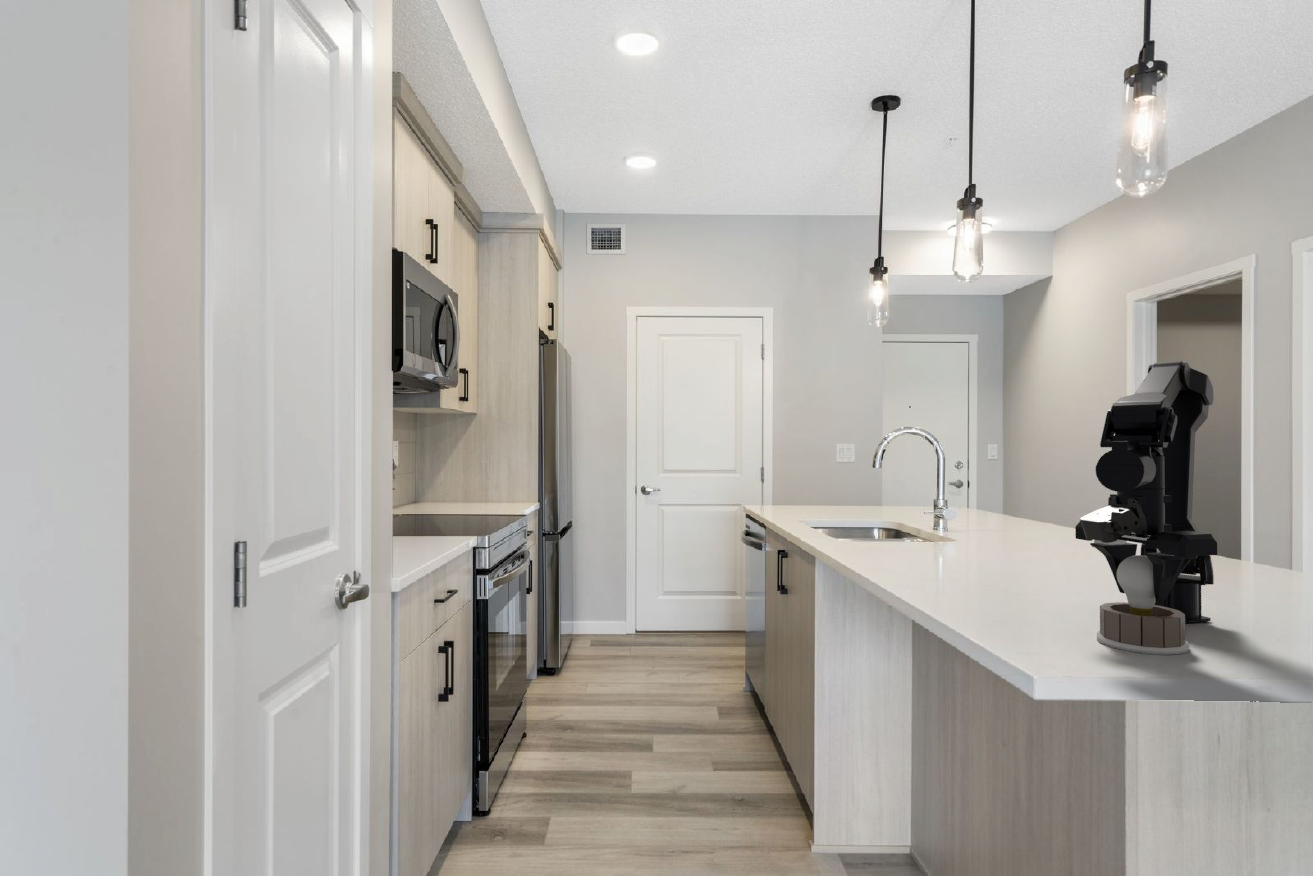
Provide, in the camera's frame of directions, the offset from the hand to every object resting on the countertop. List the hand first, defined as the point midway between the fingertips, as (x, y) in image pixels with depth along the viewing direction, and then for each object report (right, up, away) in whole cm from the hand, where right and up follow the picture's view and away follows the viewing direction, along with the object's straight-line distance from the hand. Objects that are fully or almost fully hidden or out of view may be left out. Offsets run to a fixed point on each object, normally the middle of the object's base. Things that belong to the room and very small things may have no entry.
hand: (1141, 597), depth 106 cm
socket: (0, -7, 0) cm, 7 cm away
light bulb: (0, -4, 0) cm, 4 cm away
